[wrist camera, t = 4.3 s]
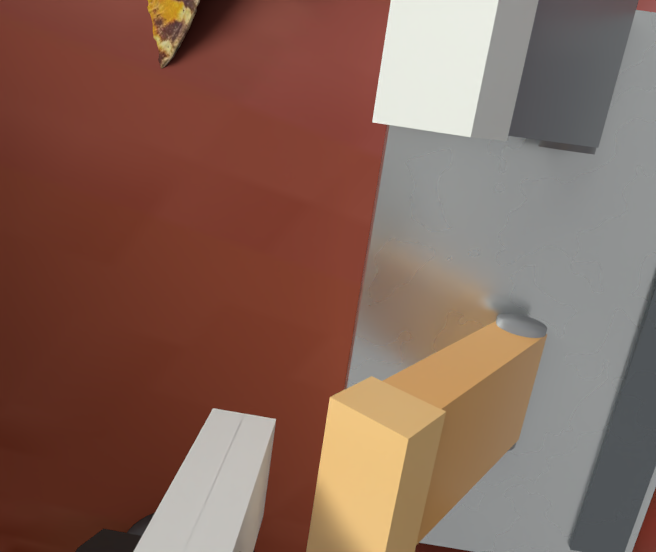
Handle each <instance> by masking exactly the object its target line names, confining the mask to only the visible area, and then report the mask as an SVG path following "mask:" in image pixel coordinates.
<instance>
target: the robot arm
mask: <svg viewBox="0 0 656 552" xmlns="http://www.w3.org/2000/svg"><path fill="white" fill-rule="evenodd" d="M275 423H276V419H272V418H266V417H261V416H255V415H249V414H243V413H238V412H232V411H226V410H220V409H214V408H213V409H212V411H211V413H210V415H209V417H208V418H207V420H206V422H205V424H204V426H203V427H202V429H201V431H200V433H199V435H198V436H197V438H196V440H195V442H194V444H193V445H192V447H191V449H190V451H189V453H188V454H187V456H186V458H185V460H184V462H183V463H182V465H181V467H180V469H179V471H178V472H177V474H176V476H175V478H174V480H173V481H172V483H171V485H170V487H169V489H168V490H167V492H166V494H165V496H164V498H163V499H162V501H161V503H160V505H159V507H158V508H157V510H156V512H155V514H154V516H153V517H152V519H151V521H150V523H149V525H148V526H147V528H146V530H145V532H144V534H143V535H142V536H140V535H135V534H129V533H124V532H118V531H113V530H107V529H103V530H101V531H100V532H99V533H97V534H96V535H95V536H93V537H92V538H91V539H89V540H88V541H87V542H85V543H84V544H83V545H81V546H80V547H79V548H78V549H77V550H76V551H75V552H253V550H254V547H255V543H256V540H257V536H258V533H259V529H260V525H261V522H262V518H263V514H264V506H265V499H266V491H267V484H268V476H269V469H270V461H271V454H272V446H273V439H274V431H275Z"/></svg>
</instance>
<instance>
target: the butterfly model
mask: <svg viewBox="0 0 656 552" xmlns="http://www.w3.org/2000/svg"><path fill="white" fill-rule="evenodd" d="M148 2H149V6H147V7H148V11H149V13H150V15H151V18H152V22H153V35H154V36H153V37H154V39H155V40H157V45H158V50H159V59H158V60H159V63H160V66H161V69H162V68H164V67H165V66H167V64H168V63H169V62H170V61H171V60H172V58H173V57H174V55H175V54H176V52H177V50H178V49H179V47H180V45H181V43H182V41H183V39H184V37H185V36H186V34H187V32H188V30H189V28H190V25H191V22H192V20H193V17H194V16H195V14H196V12H197V9H196V7H197V6H198V4H199V3H200V0H148ZM151 2H152V3H151ZM157 9H158V10H157ZM183 10H184V12H183Z"/></svg>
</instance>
